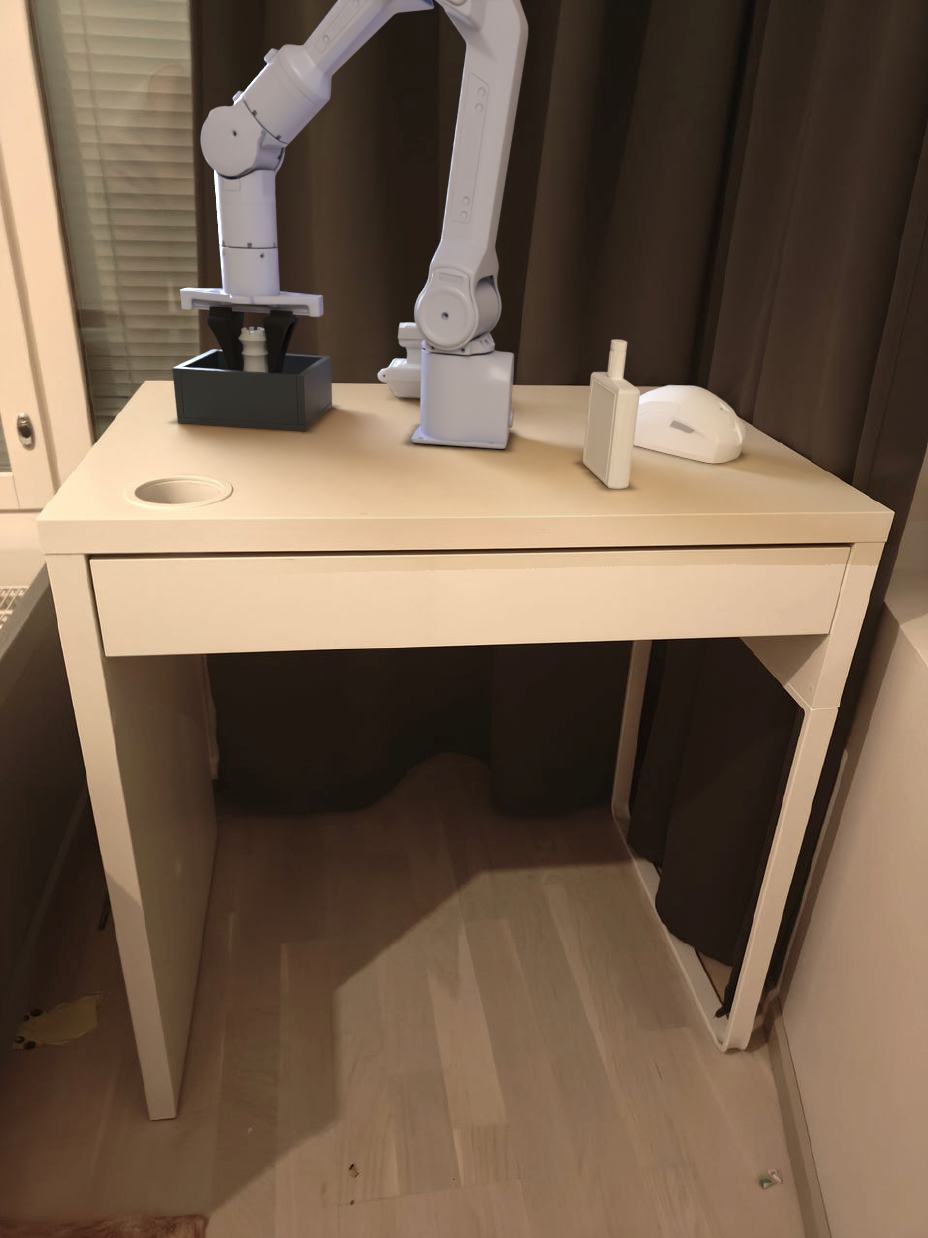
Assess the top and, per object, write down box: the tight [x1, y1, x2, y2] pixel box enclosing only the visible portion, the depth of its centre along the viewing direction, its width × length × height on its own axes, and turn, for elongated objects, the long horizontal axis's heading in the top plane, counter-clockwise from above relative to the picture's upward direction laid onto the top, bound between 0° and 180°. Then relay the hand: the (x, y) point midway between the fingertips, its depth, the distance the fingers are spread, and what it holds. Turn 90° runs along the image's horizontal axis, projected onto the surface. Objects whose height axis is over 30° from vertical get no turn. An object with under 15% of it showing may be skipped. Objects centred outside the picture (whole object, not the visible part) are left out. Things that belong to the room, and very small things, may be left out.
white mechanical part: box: [377, 321, 424, 400], centre depth 109 cm, size 9×7×8 cm
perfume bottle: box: [582, 339, 641, 490], centre depth 81 cm, size 8×2×12 cm, turn 10°
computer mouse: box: [634, 384, 747, 464], centre depth 92 cm, size 6×13×6 cm, turn 47°
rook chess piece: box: [238, 326, 268, 372], centre depth 97 cm, size 4×4×8 cm
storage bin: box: [171, 348, 333, 432], centre depth 98 cm, size 14×12×6 cm
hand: (256, 382), depth 98 cm, fingers closed on rook chess piece, 3 cm apart
